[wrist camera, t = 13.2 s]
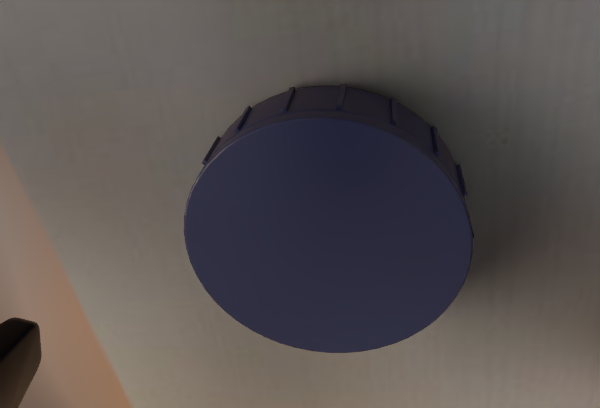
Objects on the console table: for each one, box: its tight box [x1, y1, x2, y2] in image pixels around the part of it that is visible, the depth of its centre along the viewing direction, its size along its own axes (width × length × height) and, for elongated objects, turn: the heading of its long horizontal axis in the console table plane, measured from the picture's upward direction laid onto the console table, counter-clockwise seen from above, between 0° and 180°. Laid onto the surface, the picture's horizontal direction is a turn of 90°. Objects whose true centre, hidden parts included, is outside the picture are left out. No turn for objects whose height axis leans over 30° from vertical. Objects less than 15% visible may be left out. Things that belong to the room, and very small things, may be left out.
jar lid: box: [184, 84, 474, 353], centre depth 13 cm, size 7×7×2 cm
